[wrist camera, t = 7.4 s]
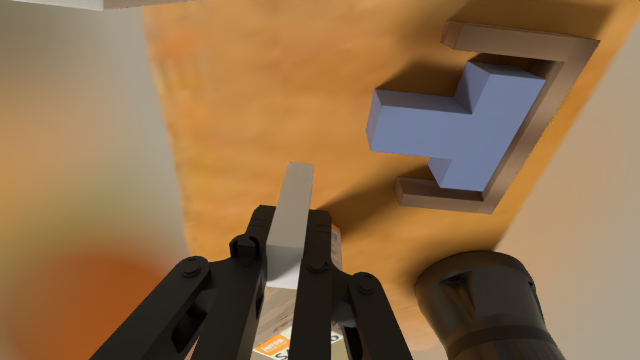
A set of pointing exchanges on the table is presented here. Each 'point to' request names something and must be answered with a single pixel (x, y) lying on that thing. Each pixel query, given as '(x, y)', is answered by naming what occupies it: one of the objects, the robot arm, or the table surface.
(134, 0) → the milk carton
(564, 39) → the walnut dock
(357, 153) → the table surface
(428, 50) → the table surface
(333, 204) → the table surface
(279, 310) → the supplement box
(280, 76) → the table surface
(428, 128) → the slate blue t block
